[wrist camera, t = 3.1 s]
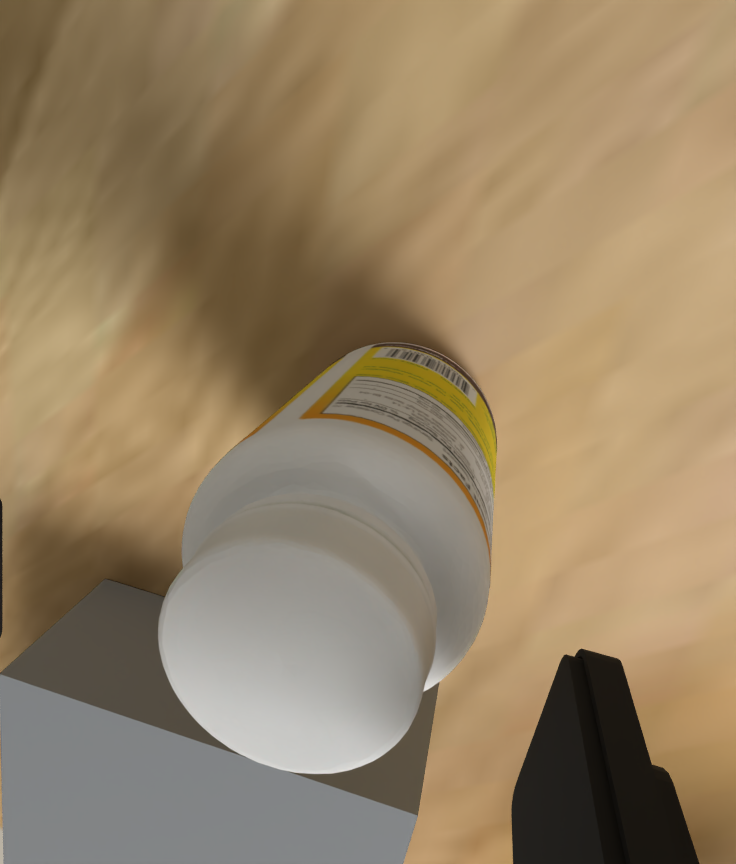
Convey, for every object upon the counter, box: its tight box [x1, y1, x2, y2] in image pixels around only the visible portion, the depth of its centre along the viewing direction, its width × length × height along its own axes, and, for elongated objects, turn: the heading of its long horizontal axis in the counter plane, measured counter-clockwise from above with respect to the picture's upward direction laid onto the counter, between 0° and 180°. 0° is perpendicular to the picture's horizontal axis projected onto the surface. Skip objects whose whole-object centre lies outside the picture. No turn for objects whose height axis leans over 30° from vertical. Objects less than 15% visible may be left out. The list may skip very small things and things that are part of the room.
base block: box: [0, 579, 439, 864], centre depth 21 cm, size 12×12×5 cm
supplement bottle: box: [158, 342, 497, 774], centre depth 14 cm, size 6×6×10 cm
